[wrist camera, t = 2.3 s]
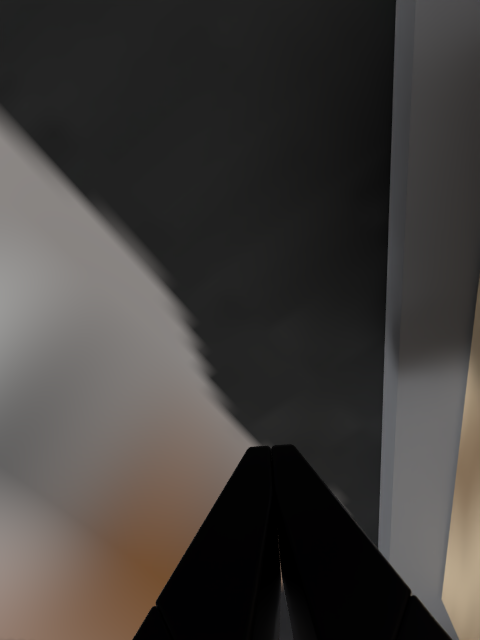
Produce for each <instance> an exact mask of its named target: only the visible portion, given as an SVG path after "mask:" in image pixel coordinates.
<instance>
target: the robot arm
mask: <svg viewBox="0 0 480 640" xmlns="http://www.w3.org/2000/svg"><path fill="white" fill-rule="evenodd" d="M271 454H272V456H271ZM278 540H279V541H278ZM279 551H280V554H279ZM280 563H281V570H280ZM281 572H282V580H283V586H284V592H285V597H286V602H287V607H288V613H289V618H290V623H291V628H292V633H293V638H294V640H453V639H452V638H451V637H450V636H449V635H448V634H447V632H446V631H445V630H444V629H443V628H442V627H441V625H440V624H439V623H438V622H437V621H436V620H435V618H434V617H433V616H432V615H431V613H430V612H429V611H428V610H427V608H426V607H425V606H424V605H423V603H422V602H421V601H420V600H419V598H418V597H417V596H416V595H412V591H411V589H410V588H409V587H408V585H407V584H406V583H405V582H404V580H403V579H402V578H401V577H400V575H399V574H398V573H397V572H396V570H395V569H394V568H393V567H392V566H391V564H390V563H389V562H388V561H387V559H386V558H385V557H384V556H383V554H382V553H381V552H380V551H379V550H378V548H377V547H376V546H375V545H374V543H373V542H372V541H371V540H370V538H369V537H368V536H367V535H366V534H365V532H364V531H363V530H362V529H361V527H360V526H359V525H358V524H357V522H356V521H355V520H354V519H353V518H352V516H351V515H350V514H349V513H348V511H347V510H346V509H345V508H344V506H343V505H342V504H341V503H340V502H339V500H338V499H337V498H336V497H335V495H334V494H333V493H332V492H331V490H330V489H329V488H328V487H327V485H326V484H325V483H324V482H323V481H322V479H321V478H320V477H319V476H318V474H317V473H316V472H315V471H314V469H313V468H312V467H311V466H310V465H309V463H308V462H307V461H306V460H305V458H304V457H303V456H302V455H301V453H300V452H299V451H298V450H297V449H296V447H295V446H294V445H291V444H287V445H274V446H273V447H272V448H270V447H269V446H257V447H250V448H248V449H247V451H246V452H245V454H244V456H243V457H242V459H241V461H240V462H239V464H238V466H237V467H236V469H235V471H234V472H233V474H232V476H231V478H230V479H229V481H228V482H227V484H226V486H225V487H224V489H223V491H222V492H221V494H220V496H219V497H218V499H217V501H216V502H215V504H214V506H213V507H212V509H211V511H210V512H209V514H208V516H207V517H206V519H205V521H204V522H203V524H202V526H201V527H200V529H199V531H198V532H197V534H196V536H195V537H194V539H193V541H192V542H191V544H190V546H189V547H188V549H187V550H186V552H185V554H184V555H183V557H182V559H181V561H180V562H179V564H178V565H177V567H176V569H175V571H174V572H173V574H172V575H171V577H170V579H169V581H168V582H167V584H166V585H165V587H164V589H163V590H162V592H161V594H160V595H159V597H158V599H157V600H156V606H154V607H152V608H151V610H150V611H149V613H148V615H147V617H146V618H145V620H144V622H143V623H142V625H141V627H140V628H139V630H138V632H137V633H136V635H135V636H134V638H133V640H279V628H280V599H281Z"/></svg>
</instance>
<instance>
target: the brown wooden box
mask: <svg viewBox="0 0 480 640" xmlns="http://www.w3.org/2000/svg"><path fill="white" fill-rule="evenodd" d="M442 602H443V604H444V606H445V608H446V611H447V613H448V615H449V618H450V620H451V622H452V624H453V627H454V629H455V631H456V633H457V636H458V638H459V640H480V275H479V283H478V292H477V300H476V309H475V318H474V326H473V335H472V343H471V352H470V360H469V369H468V377H467V386H466V394H465V403H464V411H463V420H462V428H461V437H460V446H459V454H458V463H457V471H456V480H455V488H454V497H453V505H452V514H451V522H450V531H449V539H448V548H447V557H446V565H445V574H444V582H443V591H442Z"/></svg>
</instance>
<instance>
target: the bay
mask: <svg viewBox="0 0 480 640" xmlns="http://www.w3.org/2000/svg"><path fill="white" fill-rule="evenodd" d="M479 275H480V0H396V19H395V50H394V81H393V111H392V142H391V173H390V203H389V234H388V265H387V296H386V326H385V357H384V388H383V418H382V449H381V480H380V510H379V541H378V550H379V551H380V552H381V553H382V554H383V556H384V557H385V558H386V559H387V561H388V562H389V563H390V564H391V566H392V567H393V568H394V569H395V570H396V572H397V573H398V574H399V575H400V577H401V578H402V579H403V580H404V582H405V583H406V584H407V585H408V587H409V588H410V589H411V591H412V595H416V596H417V597H418V598H419V600H420V601H421V602H422V603H423V605H424V606H425V607H426V608H427V610H428V611H429V612H430V613H431V615H432V616H433V617H434V618H435V620H436V621H437V622H438V623H439V624H440V625H441V627H442V628H443V629H444V630H445V631H446V632H447V634H448V635H449V636H450V637H451V638H452V639H453V640H459V638H458V636H457V633H456V631H455V629H454V627H453V624H452V622H451V620H450V618H449V615H448V613H447V611H446V608H445V606H444V604H443V602H442V591H443V582H444V574H445V565H446V557H447V548H448V539H449V531H450V522H451V514H452V505H453V497H454V488H455V480H456V471H457V463H458V454H459V446H460V437H461V428H462V420H463V411H464V403H465V394H466V386H467V377H468V369H469V360H470V352H471V343H472V335H473V326H474V318H475V309H476V300H477V292H478V283H479Z"/></svg>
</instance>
